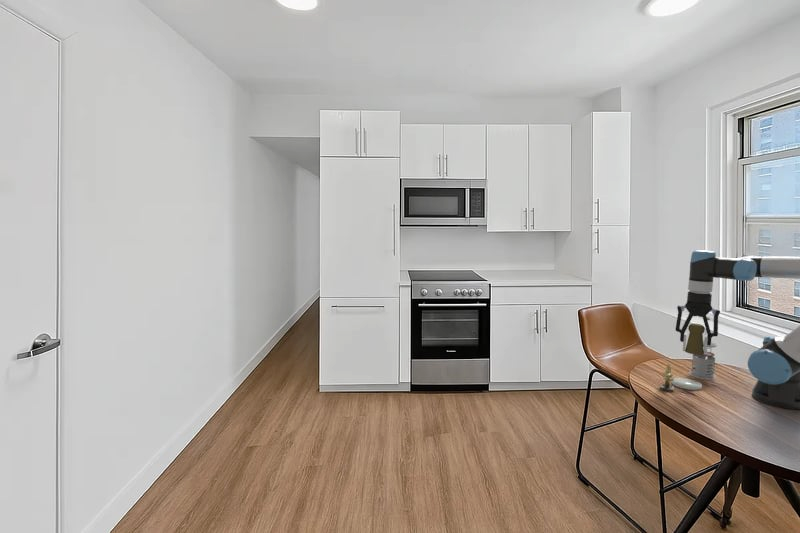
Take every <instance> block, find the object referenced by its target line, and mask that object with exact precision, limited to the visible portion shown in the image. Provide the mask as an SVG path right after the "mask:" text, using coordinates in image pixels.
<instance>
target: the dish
mask: <svg viewBox="0 0 800 533" xmlns="http://www.w3.org/2000/svg"><path fill="white" fill-rule="evenodd" d="M673 378H674V381H671V384H672V386H674V387H676V388H679V389H682V390H687V391H701V390H702V388H703V384H702V383H701V382H699V381H697V380H695V379H691V378H687V377H686V378H684V377H673Z"/></svg>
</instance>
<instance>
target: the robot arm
mask: <svg viewBox="0 0 800 533" xmlns="http://www.w3.org/2000/svg"><path fill="white" fill-rule="evenodd" d="M714 278H717V279H727V280H735V281H740V282H742V281H745V282H746V281H747V282H749V281H753V280H754V279H755V278H772V279H792V280H793V279H795V280H797V279H799V280H800V256H752V255H743V256H741V257H740V256H739V257H734V258H733V257H720V256H717V254H716V252H715V250H714V251H712V250H694V251H692V253H691V256H690V262H689V278H688V286H687V290H688V292H687V297H686V298H687V299H686V303H685V304H683V305H679V304H678V305H677V307H676V308H677V318H676V324H675V332H677V333H680V336H679V341H680V342H681V343H682V351H683V352H685V349H686V345H687V337H688V336H687V335H688V334H687V332H686V331H687V329H688V327H689V325H690V324H691V320H692V318H693V317H699V318H702V319H703V323H704V324H703V325H704V327H705V332H706V336H705V335H704V339H705V341H704V347H703V350H704V354H706V351H707V350H708V349H707V348H708V347H707V345H711V342H712V338H713V337H718V335H719V316H720V314H721V310H720V309H719V308H715V307H714V308H713V306H712V298H713V296H712V295H713V294H712V292H713V287H714V285H713V284H714ZM685 309H686V310H687V312H688V314H687V317H686V319H685V322H684V323H683V325H682V328H681V322H682V315H683V312H684V310H685ZM710 312H712V315H713V331H711V328H710V324H709V322H708V321H709V320H707V317H708V316H707V315H708V314H709V313H710ZM707 352H708V351H707ZM747 367H748V370H749V372H750V374H751V375H752V376H753V377H754V379H756V380H757V381H756V383H754V386H753V388H752V393H751V397H752V398H753V399H754V400H757V401H758V402H761V403H763V404H766V405H770V406H773V407H777V408H782V409H790V410H800V325H799V326H797V327H796V328H795V329H793V330H792V331H790V332H789V333H788V334H786V335H785V336H772V335H769V336H768V335H767V336H764V338H763V341H762V346H761V347H760V348H758V349H757V350H754V351H753V352H752V353H751V354H750V355H749V357H748V359H747Z"/></svg>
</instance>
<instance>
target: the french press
mask: <svg viewBox="0 0 800 533" xmlns="http://www.w3.org/2000/svg"><path fill="white" fill-rule="evenodd" d="M706 317H707V321H710V319H711V318H710V317H708V316H706ZM705 336H707V333H705V334H704V337H705ZM704 341H705V338H703V348H704ZM717 346H718V345H717V344H716V343H714V342H713V341H711V345H707V350H709V349H710V350H712V348H717ZM706 357H707V358H706ZM691 362H692V363H691V370H690V371H689V372H688V375H689V376H691V377H693V378H697V379H701V380H706V379H707V381H712V380H714V381H715V380H716V379H717V376H715V364H716V358H715V353H714V352H712V351H706V354H703V355H695V354H692V361H691Z"/></svg>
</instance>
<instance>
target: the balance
mask: <svg viewBox="0 0 800 533" xmlns="http://www.w3.org/2000/svg"><path fill="white" fill-rule="evenodd" d="M661 375H662V376H663V377H662V379H663V380H664V383H660V386H659V390H662V391H666V392H670V393H674V391H675V386H674V385H671V382H672V381H674V378H675V377H674V373H672V366H671V365H670V364H669V363H667V364H666V365H665V371H663V372H661Z"/></svg>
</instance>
